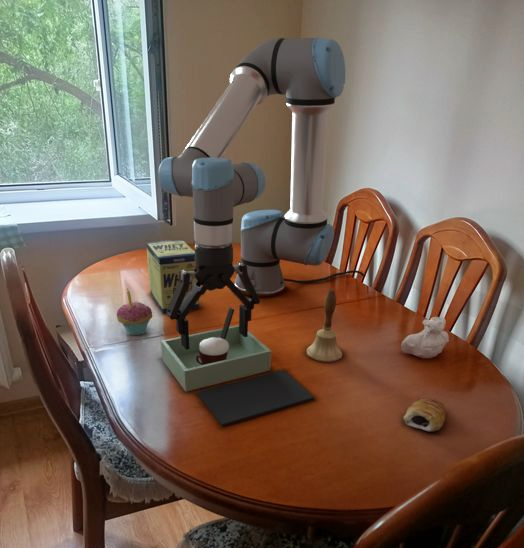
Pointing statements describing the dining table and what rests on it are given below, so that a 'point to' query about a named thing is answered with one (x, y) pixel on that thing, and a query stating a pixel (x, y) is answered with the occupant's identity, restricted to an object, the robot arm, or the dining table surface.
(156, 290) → the protein box
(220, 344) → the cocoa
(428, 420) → the pastry
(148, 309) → the cupcake
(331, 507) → the dining table surface
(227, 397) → the mat
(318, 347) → the hand bell
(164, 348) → the tote
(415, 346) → the white animal figurine
